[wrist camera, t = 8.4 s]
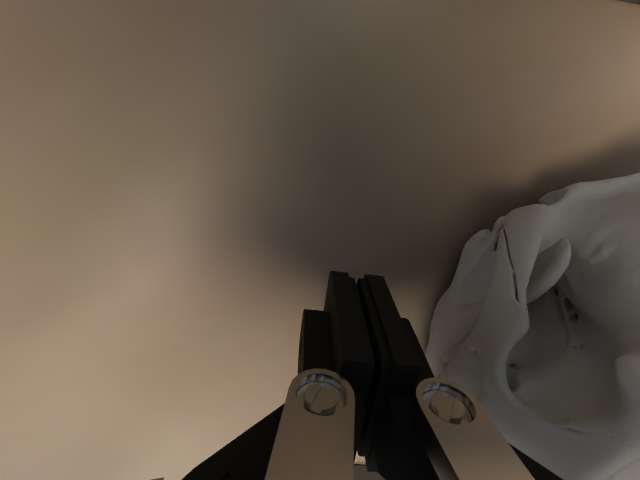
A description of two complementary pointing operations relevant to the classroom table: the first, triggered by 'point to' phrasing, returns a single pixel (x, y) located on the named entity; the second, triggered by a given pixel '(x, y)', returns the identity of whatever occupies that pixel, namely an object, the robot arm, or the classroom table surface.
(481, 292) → the skull
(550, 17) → the classroom table surface
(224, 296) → the classroom table surface
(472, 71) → the classroom table surface
